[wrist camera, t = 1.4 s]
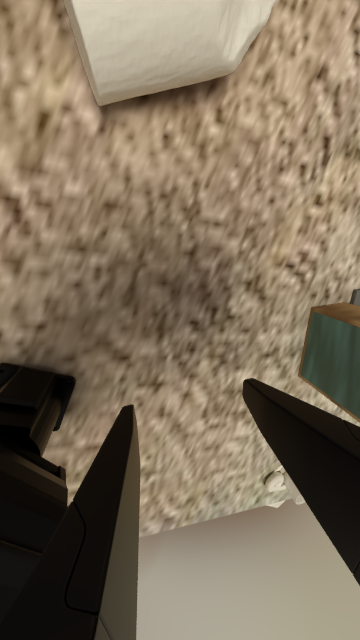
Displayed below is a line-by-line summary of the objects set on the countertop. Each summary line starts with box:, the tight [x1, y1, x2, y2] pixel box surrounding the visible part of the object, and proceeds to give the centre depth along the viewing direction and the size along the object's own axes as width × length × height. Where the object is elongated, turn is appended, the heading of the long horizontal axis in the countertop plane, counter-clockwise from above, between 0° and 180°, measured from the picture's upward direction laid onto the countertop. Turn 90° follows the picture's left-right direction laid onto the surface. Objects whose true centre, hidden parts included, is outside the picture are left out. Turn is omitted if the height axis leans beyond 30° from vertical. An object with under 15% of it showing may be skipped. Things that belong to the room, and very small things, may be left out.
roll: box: [63, 0, 277, 106], centre depth 11 cm, size 6×12×6 cm, turn 106°
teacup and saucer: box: [265, 465, 305, 508], centre depth 34 cm, size 9×8×4 cm
